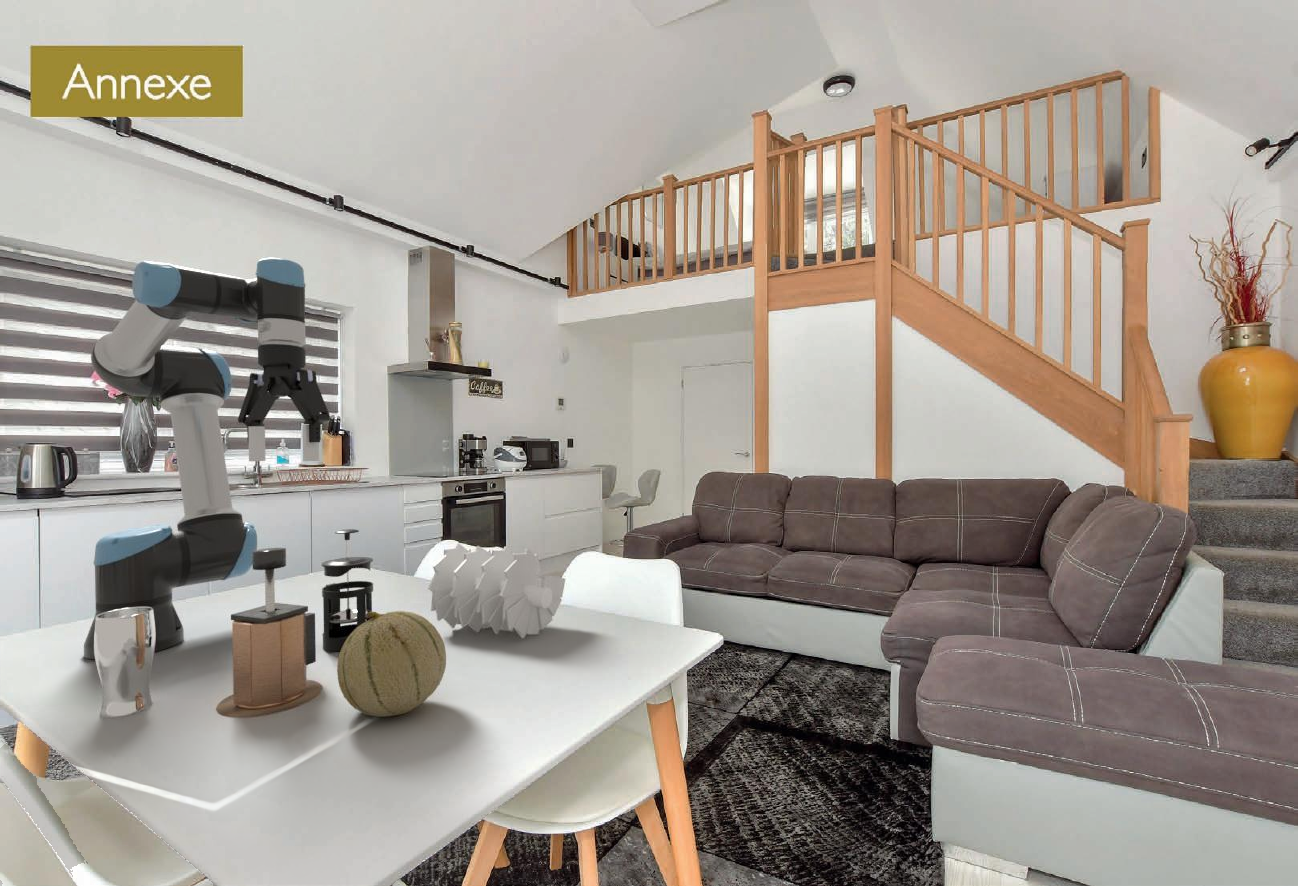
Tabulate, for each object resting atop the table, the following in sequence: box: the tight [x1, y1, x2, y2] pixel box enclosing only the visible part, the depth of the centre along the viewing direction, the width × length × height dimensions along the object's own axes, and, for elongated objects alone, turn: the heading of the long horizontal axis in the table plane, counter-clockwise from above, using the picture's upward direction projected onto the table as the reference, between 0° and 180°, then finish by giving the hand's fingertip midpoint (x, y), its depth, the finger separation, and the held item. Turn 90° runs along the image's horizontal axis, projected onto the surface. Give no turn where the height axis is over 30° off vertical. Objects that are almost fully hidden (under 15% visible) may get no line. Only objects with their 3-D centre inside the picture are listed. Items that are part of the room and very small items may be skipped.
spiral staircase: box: [428, 543, 566, 640], centre depth 128 cm, size 18×18×25 cm
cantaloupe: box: [336, 610, 447, 718], centre depth 90 cm, size 15×15×15 cm
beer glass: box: [94, 606, 156, 719], centre depth 91 cm, size 7×7×15 cm
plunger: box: [252, 547, 287, 613], centre depth 94 cm, size 6×6×21 cm
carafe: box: [230, 602, 317, 710], centre depth 95 cm, size 9×12×13 cm
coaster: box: [215, 679, 324, 719], centre depth 94 cm, size 14×14×1 cm
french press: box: [321, 528, 374, 654], centre depth 119 cm, size 12×9×23 cm
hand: (283, 461), depth 112 cm, fingers open, 13 cm apart
